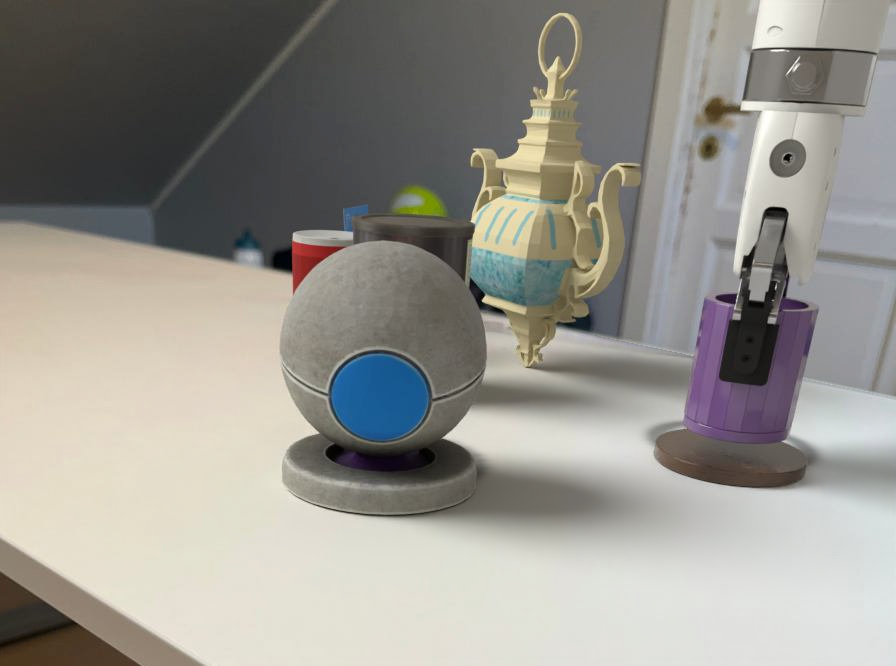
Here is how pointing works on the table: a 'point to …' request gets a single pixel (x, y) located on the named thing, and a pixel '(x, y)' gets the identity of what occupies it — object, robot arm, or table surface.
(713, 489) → the table surface
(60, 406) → the table surface
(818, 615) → the table surface
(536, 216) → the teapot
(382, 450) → the webcam
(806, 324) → the cup
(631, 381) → the table surface
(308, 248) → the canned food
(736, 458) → the coaster
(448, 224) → the coffee can
